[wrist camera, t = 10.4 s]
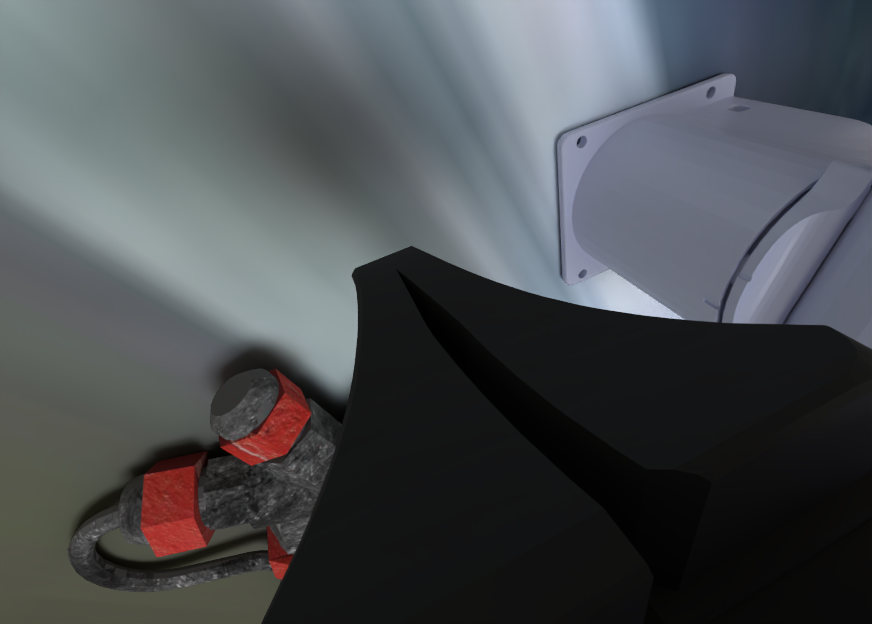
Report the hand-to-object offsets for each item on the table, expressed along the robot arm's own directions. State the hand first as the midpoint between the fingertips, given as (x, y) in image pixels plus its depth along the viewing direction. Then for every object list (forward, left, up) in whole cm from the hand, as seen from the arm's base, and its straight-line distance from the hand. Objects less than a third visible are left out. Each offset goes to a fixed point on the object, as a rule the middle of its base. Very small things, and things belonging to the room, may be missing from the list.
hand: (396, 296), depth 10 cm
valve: (+10, +18, -10) cm, 23 cm away
